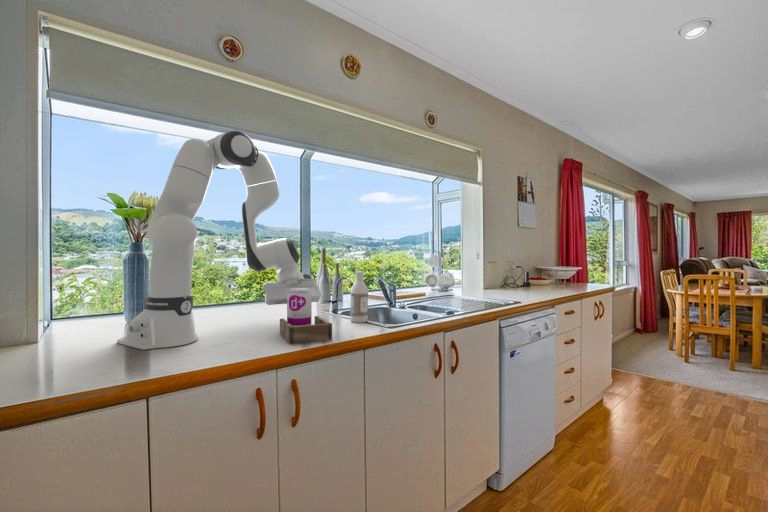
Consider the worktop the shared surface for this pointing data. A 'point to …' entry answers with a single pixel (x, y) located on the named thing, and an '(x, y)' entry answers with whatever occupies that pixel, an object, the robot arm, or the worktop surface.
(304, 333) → the bay
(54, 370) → the worktop surface
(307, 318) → the supplement can
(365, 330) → the worktop surface
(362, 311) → the bath foam
